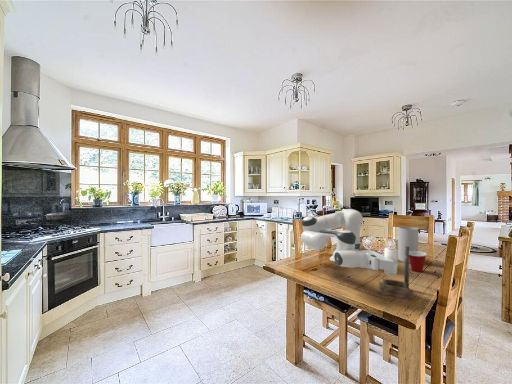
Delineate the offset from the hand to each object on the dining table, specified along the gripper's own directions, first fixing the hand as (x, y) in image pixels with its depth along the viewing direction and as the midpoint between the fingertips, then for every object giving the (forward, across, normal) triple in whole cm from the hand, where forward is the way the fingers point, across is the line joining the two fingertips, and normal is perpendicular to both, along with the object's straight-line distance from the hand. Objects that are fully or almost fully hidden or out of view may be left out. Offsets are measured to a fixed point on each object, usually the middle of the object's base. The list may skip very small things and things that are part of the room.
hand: (392, 259), depth 122 cm
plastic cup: (+34, -29, -17) cm, 48 cm away
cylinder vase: (+42, -50, -16) cm, 67 cm away
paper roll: (-1, 0, -8) cm, 8 cm away
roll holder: (+1, +1, -17) cm, 17 cm away
